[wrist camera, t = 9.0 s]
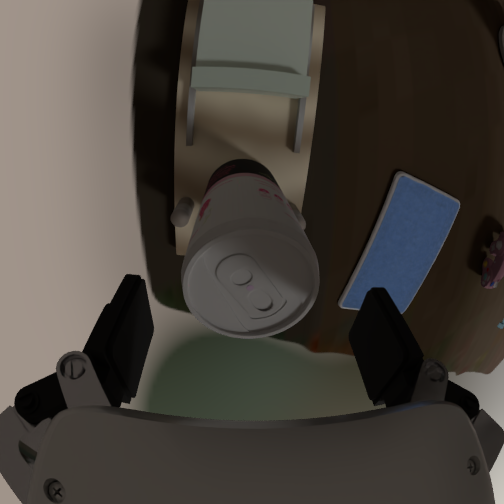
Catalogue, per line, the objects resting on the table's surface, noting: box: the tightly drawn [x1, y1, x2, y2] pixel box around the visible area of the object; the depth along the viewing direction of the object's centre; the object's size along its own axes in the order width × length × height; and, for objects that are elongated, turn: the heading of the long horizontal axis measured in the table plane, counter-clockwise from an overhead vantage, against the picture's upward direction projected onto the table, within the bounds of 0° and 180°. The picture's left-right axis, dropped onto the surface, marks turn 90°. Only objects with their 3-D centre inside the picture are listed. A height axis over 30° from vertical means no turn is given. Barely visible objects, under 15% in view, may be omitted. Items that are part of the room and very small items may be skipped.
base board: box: [171, 0, 325, 255], centre depth 21 cm, size 27×12×5 cm, turn 175°
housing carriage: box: [191, 0, 313, 99], centre depth 16 cm, size 10×8×5 cm
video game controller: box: [481, 232, 504, 289], centre depth 30 cm, size 10×5×7 cm, turn 173°
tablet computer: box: [338, 171, 460, 313], centre depth 31 cm, size 19×13×1 cm, turn 166°
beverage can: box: [181, 159, 319, 339], centre depth 19 cm, size 7×6×15 cm
